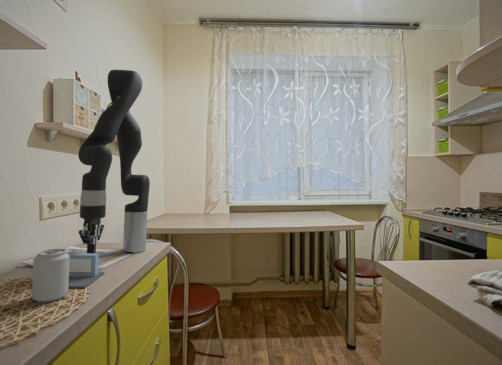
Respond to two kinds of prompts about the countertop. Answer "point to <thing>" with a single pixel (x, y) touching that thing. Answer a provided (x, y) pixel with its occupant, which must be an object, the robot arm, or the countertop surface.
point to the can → (50, 275)
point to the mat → (82, 281)
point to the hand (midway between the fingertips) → (91, 254)
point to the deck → (83, 264)
